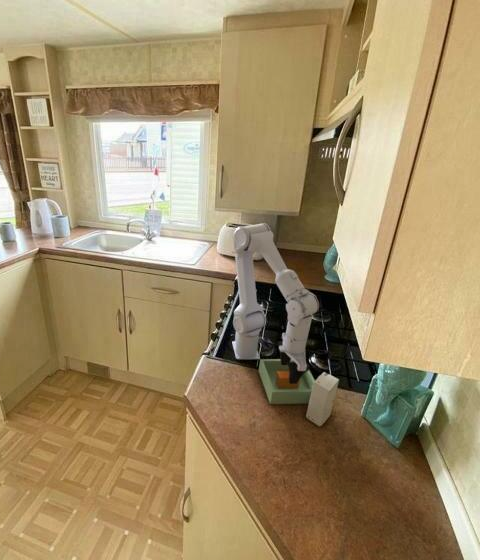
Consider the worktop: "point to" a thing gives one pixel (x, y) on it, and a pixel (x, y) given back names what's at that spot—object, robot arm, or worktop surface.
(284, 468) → the worktop surface
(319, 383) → the cosmetic box
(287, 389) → the tray
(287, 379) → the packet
